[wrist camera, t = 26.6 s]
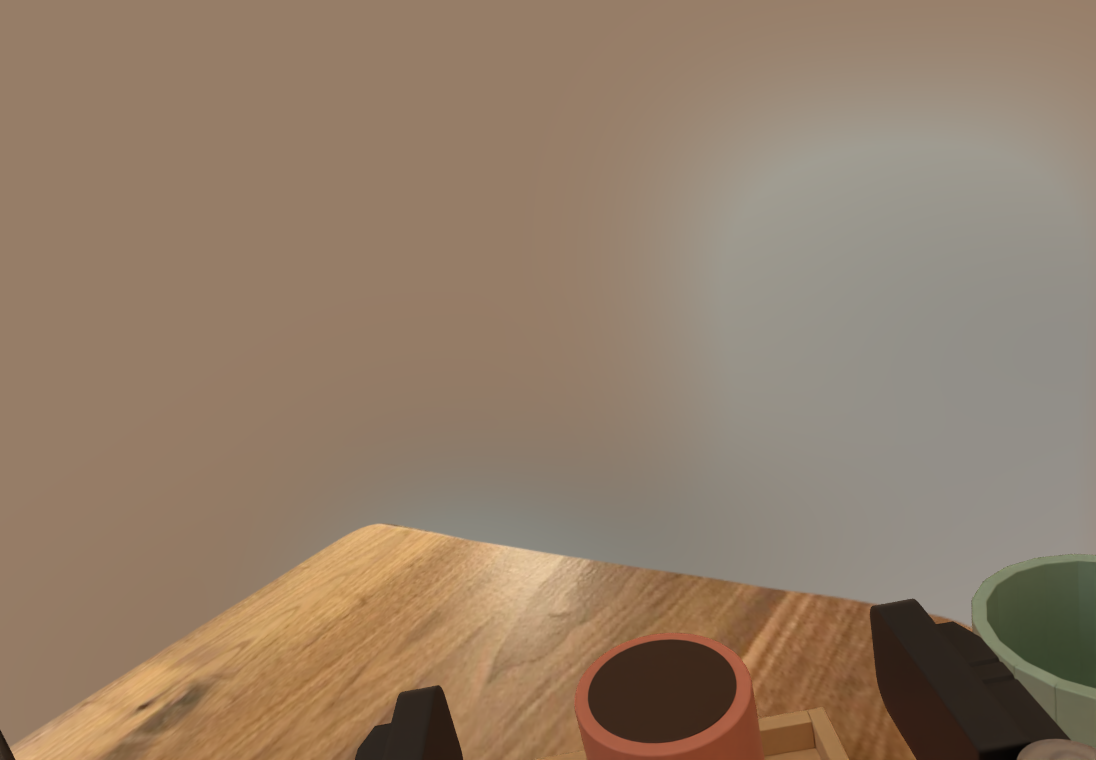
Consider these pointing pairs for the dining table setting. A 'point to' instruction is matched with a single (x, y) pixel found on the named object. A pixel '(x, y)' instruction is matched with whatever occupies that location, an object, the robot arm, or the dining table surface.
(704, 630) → the dining table surface
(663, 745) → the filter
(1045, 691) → the cup
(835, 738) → the tray
